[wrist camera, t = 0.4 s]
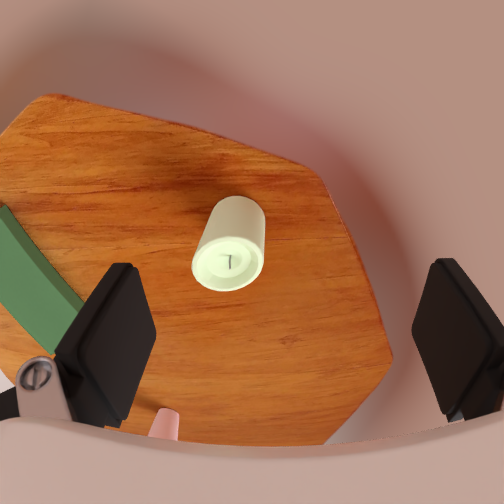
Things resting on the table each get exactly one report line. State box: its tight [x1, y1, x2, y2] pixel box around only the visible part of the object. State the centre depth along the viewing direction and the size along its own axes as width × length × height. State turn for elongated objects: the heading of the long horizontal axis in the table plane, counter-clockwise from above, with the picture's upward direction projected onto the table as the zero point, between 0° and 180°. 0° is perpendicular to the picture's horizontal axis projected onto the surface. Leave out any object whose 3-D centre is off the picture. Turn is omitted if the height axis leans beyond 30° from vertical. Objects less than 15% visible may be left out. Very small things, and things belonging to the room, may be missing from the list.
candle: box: [192, 196, 265, 291], centre depth 25 cm, size 5×5×8 cm
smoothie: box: [148, 408, 179, 441], centre depth 42 cm, size 6×6×14 cm
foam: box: [0, 205, 85, 355], centre depth 35 cm, size 20×14×2 cm
